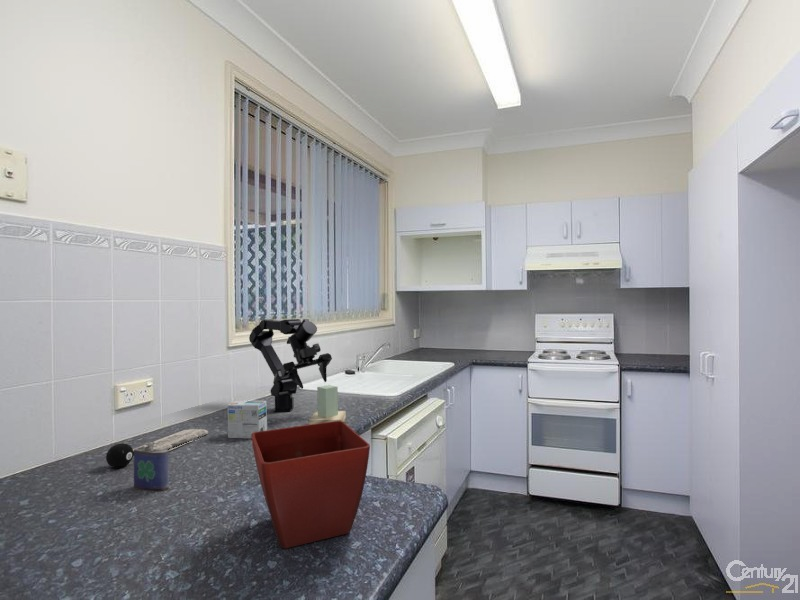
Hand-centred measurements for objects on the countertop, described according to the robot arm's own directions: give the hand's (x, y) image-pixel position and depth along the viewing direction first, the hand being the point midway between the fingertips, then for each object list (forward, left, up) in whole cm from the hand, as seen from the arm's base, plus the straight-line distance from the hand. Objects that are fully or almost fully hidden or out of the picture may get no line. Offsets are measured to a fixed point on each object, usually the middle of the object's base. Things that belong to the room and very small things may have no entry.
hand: (314, 384), depth 163 cm
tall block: (+6, -6, -10) cm, 13 cm away
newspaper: (-39, -25, -13) cm, 48 cm away
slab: (+6, -6, -13) cm, 15 cm away
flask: (-27, -58, -13) cm, 66 cm away
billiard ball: (-43, -44, -13) cm, 63 cm away
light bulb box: (-18, -18, -13) cm, 29 cm away
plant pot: (+14, -77, -13) cm, 80 cm away
